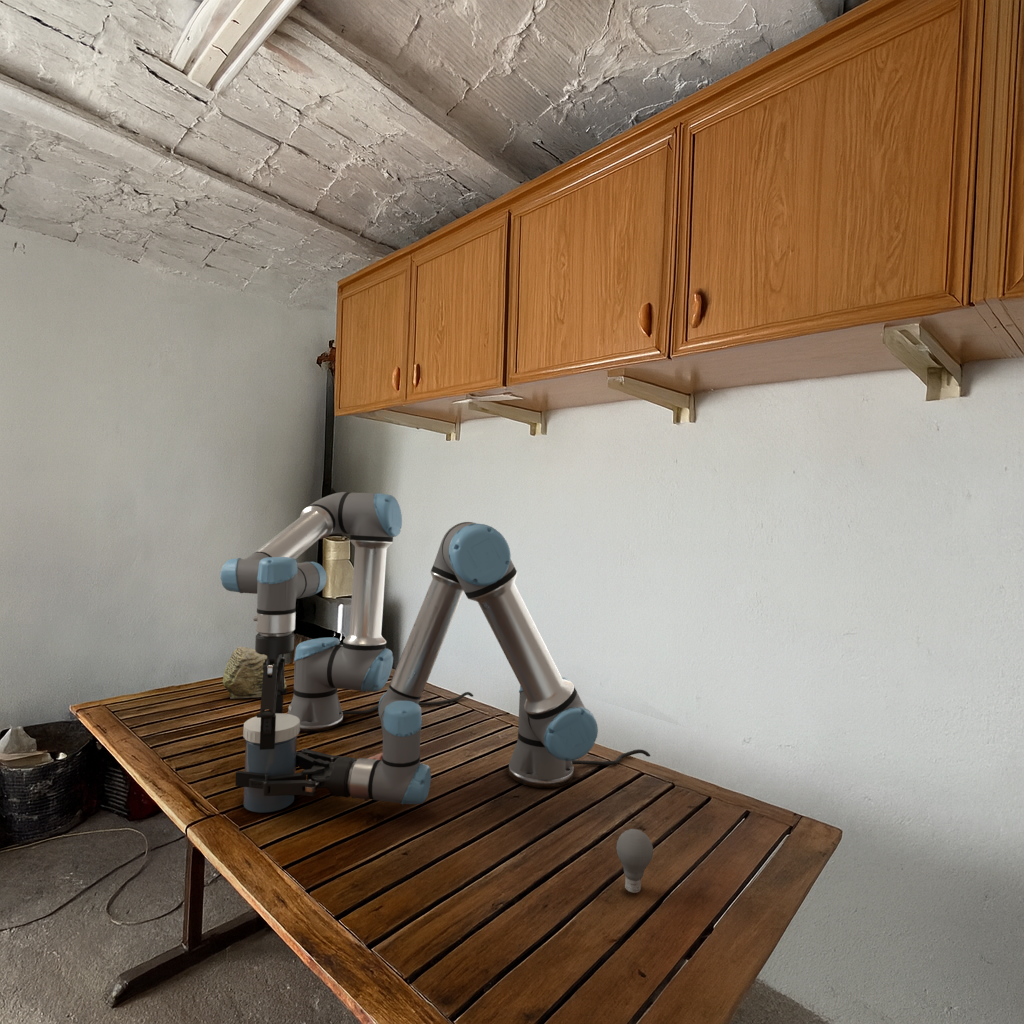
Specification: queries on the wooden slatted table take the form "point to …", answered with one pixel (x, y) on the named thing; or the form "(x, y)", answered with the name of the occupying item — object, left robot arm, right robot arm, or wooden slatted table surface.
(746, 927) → the wooden slatted table surface
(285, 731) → the lid
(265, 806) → the jar
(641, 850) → the light bulb
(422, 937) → the wooden slatted table surface
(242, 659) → the fossil
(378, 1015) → the wooden slatted table surface
